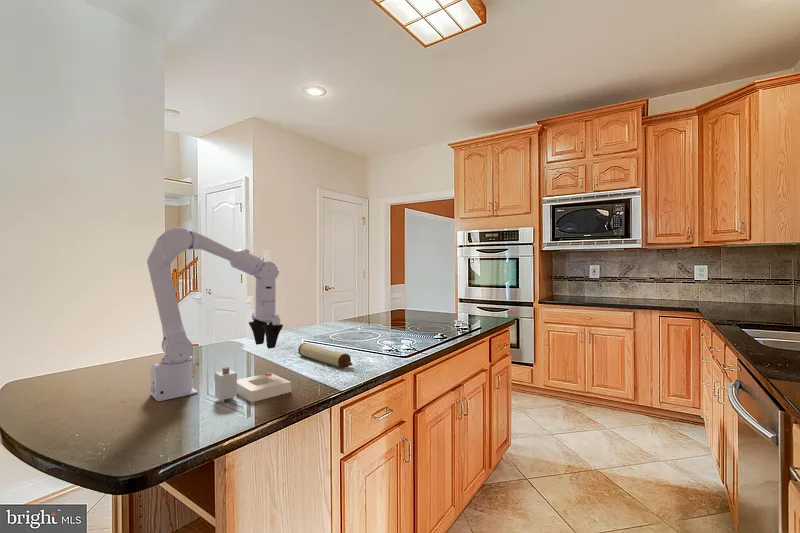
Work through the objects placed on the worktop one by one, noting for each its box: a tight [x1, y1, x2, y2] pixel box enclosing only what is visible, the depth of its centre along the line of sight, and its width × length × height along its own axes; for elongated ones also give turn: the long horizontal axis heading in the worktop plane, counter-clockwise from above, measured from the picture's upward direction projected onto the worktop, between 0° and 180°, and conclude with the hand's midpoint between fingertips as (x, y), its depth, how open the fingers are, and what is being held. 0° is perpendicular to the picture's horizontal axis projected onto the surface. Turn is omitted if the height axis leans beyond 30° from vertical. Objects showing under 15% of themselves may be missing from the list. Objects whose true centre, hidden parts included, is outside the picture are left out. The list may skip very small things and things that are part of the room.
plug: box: [214, 366, 238, 404], centre depth 101 cm, size 4×4×8 cm
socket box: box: [237, 372, 292, 403], centre depth 107 cm, size 11×12×3 cm
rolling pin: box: [297, 342, 353, 369], centre depth 140 cm, size 32×6×5 cm, turn 45°
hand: (265, 346), depth 119 cm, fingers open, 7 cm apart
